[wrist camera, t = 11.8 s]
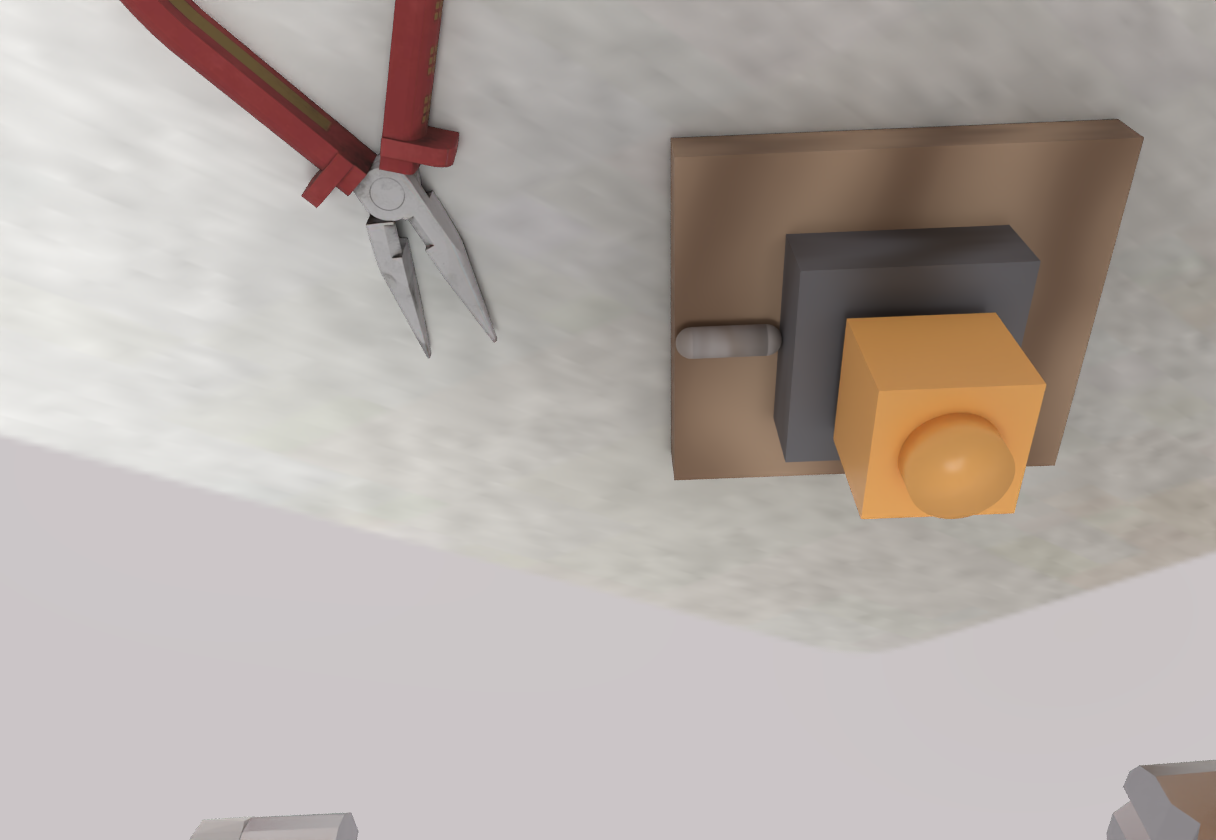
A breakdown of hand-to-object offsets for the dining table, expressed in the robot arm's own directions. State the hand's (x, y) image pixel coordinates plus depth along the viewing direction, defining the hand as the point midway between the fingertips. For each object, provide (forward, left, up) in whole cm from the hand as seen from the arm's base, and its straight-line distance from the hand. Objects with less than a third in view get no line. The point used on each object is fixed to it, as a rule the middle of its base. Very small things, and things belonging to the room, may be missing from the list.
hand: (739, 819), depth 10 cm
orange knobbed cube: (-9, +9, -23) cm, 27 cm away
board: (-9, +9, -29) cm, 32 cm away
